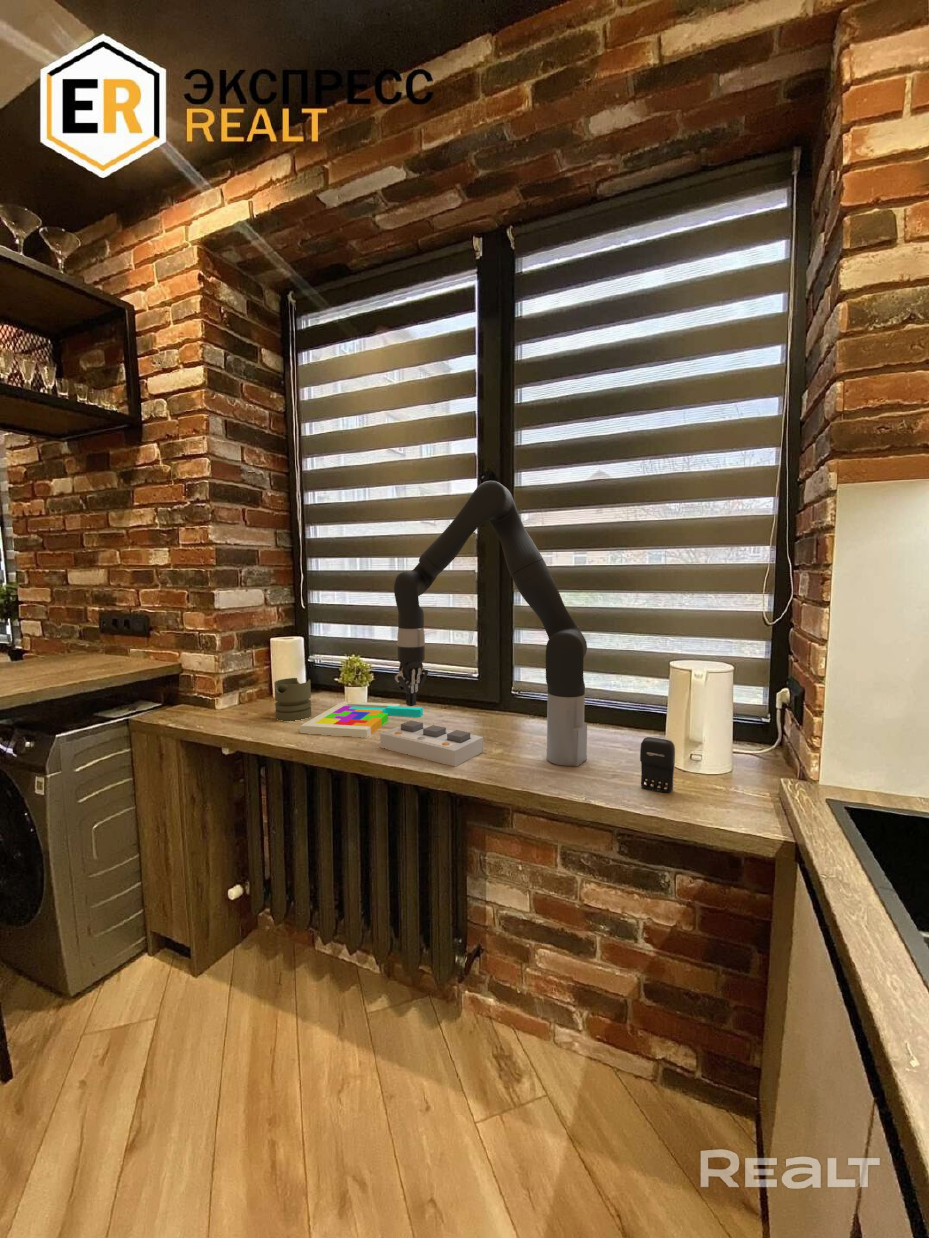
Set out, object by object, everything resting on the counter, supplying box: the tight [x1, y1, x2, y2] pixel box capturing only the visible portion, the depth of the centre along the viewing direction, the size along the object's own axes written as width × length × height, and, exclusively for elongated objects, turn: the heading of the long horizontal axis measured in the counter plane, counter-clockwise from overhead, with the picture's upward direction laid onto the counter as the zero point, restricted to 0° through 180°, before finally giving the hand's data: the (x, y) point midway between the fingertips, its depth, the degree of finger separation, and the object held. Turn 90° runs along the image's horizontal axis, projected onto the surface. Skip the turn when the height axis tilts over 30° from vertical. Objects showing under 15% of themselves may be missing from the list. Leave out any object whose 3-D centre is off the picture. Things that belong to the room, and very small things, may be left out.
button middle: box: [423, 724, 447, 738], centre depth 142 cm, size 4×4×3 cm
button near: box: [447, 729, 471, 743], centre depth 137 cm, size 4×4×3 cm
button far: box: [400, 720, 424, 732], centre depth 146 cm, size 4×4×3 cm
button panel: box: [379, 724, 484, 767], centre depth 141 cm, size 25×13×4 cm, turn 56°
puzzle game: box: [299, 700, 424, 739], centre depth 167 cm, size 30×3×30 cm
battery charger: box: [639, 735, 676, 794], centre depth 114 cm, size 7×4×11 cm, turn 58°
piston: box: [273, 677, 312, 722], centre depth 173 cm, size 11×12×11 cm
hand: (411, 705), depth 146 cm, fingers closed
